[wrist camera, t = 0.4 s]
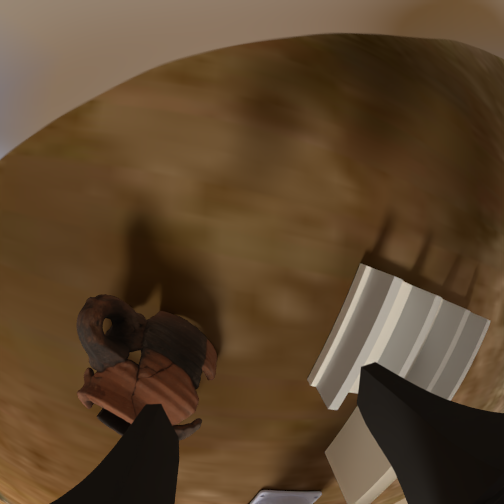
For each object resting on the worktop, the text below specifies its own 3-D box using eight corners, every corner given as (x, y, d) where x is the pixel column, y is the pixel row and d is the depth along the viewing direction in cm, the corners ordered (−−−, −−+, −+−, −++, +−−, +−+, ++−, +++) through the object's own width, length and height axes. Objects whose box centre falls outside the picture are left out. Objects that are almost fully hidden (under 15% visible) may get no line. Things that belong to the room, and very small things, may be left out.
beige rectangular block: (341, 452, 22) (368, 505, 14) (324, 452, 22) (349, 508, 14) (376, 403, 22) (417, 454, 14) (359, 402, 21) (399, 457, 13)
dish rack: (424, 395, 22) (444, 414, 18) (307, 379, 20) (322, 408, 16) (466, 310, 21) (492, 322, 17) (360, 263, 19) (388, 273, 16)
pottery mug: (245, 378, 20) (212, 470, 14) (159, 374, 24) (121, 441, 17) (167, 249, 16) (76, 353, 9) (84, 274, 19) (17, 341, 12)
